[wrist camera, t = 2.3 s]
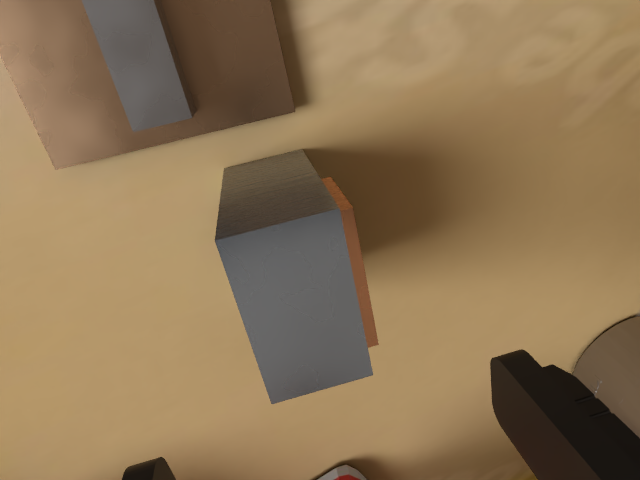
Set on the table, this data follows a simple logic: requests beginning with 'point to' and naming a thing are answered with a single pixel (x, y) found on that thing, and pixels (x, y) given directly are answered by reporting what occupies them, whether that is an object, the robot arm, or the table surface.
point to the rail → (141, 70)
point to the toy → (343, 474)
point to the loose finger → (296, 274)
